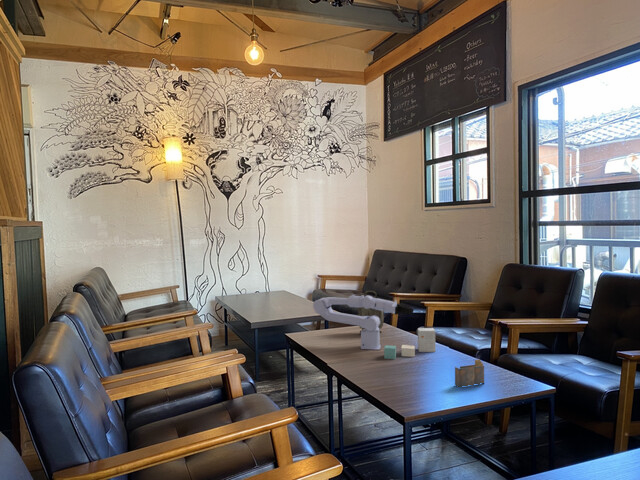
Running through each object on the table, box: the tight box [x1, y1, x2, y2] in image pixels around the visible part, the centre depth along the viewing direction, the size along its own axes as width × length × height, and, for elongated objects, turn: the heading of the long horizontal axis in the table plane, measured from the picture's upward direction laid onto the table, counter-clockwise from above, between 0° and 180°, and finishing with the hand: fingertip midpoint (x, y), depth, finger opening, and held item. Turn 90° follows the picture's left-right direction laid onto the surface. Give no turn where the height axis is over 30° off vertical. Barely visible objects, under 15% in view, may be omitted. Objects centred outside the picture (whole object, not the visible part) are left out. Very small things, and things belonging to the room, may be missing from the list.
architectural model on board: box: [454, 358, 485, 388], centre depth 175 cm, size 11×3×10 cm, turn 108°
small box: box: [417, 327, 437, 353], centre depth 224 cm, size 8×6×10 cm
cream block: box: [401, 344, 416, 357], centre depth 217 cm, size 6×6×4 cm
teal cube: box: [383, 344, 397, 360], centre depth 213 cm, size 5×5×5 cm
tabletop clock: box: [357, 290, 385, 334], centre depth 257 cm, size 14×9×25 cm, turn 85°
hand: (412, 311), depth 222 cm, fingers open, 7 cm apart
